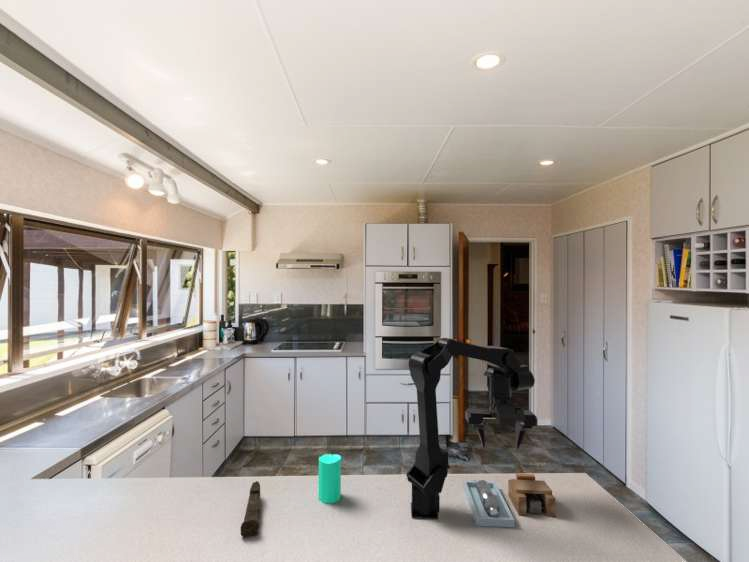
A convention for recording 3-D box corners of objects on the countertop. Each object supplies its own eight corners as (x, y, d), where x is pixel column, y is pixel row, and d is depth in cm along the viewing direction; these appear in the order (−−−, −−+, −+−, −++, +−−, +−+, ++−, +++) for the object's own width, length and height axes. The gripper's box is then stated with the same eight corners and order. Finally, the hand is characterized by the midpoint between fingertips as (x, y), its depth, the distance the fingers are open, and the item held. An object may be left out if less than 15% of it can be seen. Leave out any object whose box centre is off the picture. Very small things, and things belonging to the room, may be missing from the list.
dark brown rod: (258, 538, 88) (259, 517, 88) (240, 539, 87) (240, 518, 87) (266, 495, 106) (267, 477, 107) (251, 496, 106) (252, 478, 106)
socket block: (518, 515, 98) (518, 493, 98) (508, 496, 107) (508, 476, 107) (555, 516, 97) (555, 495, 97) (542, 497, 106) (542, 477, 106)
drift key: (525, 512, 98) (525, 489, 98) (515, 494, 107) (515, 473, 107) (545, 513, 98) (545, 490, 98) (533, 495, 107) (533, 474, 107)
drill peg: (486, 521, 94) (487, 505, 94) (475, 492, 107) (476, 479, 107) (501, 522, 94) (502, 507, 94) (488, 494, 107) (489, 480, 107)
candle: (345, 495, 106) (345, 451, 106) (331, 505, 101) (331, 458, 101) (327, 489, 109) (328, 446, 110) (313, 499, 104) (314, 453, 104)
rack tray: (476, 525, 93) (476, 518, 93) (463, 486, 111) (463, 480, 112) (514, 527, 92) (514, 520, 92) (495, 488, 111) (495, 482, 111)
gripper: (472, 398, 103) (472, 458, 102) (545, 400, 101) (545, 461, 101) (465, 388, 114) (464, 442, 113) (530, 390, 113) (530, 444, 112)
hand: (500, 447), depth 110 cm, fingers open, 9 cm apart
